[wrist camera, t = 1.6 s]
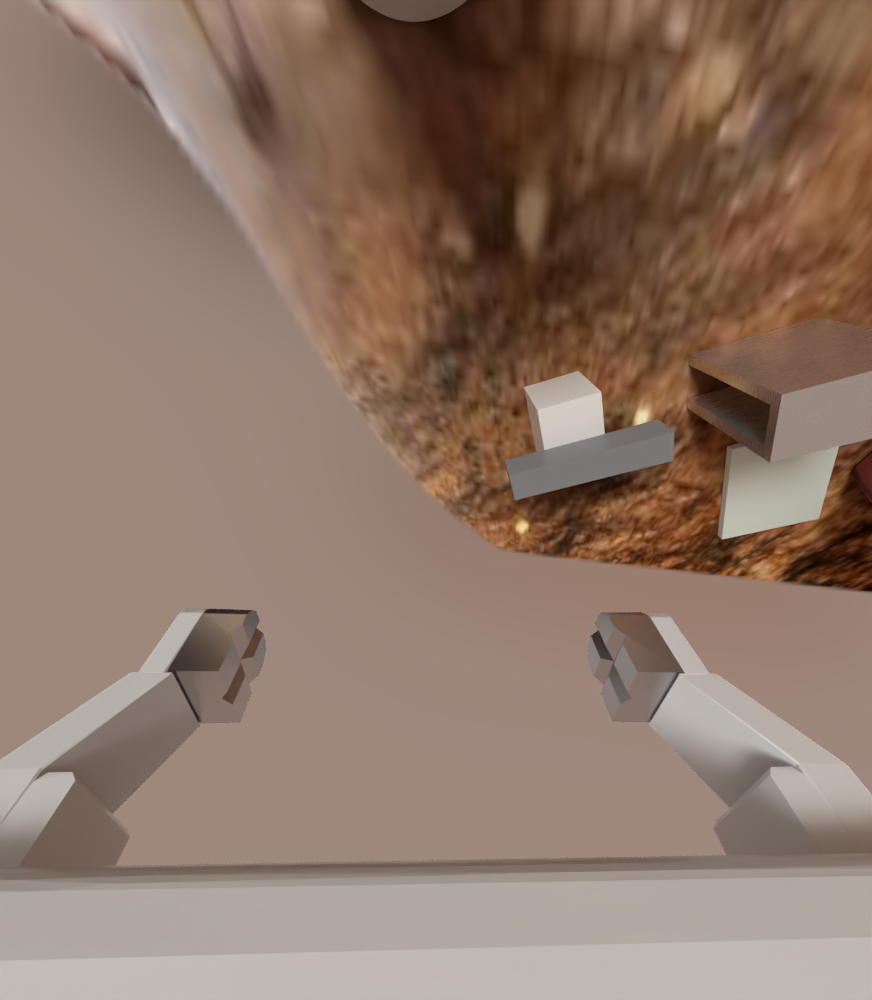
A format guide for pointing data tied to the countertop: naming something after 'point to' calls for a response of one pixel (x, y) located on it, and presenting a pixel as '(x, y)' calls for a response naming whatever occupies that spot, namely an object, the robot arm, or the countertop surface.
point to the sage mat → (772, 490)
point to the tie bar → (591, 459)
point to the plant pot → (864, 476)
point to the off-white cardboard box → (564, 411)
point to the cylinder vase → (414, 8)
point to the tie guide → (791, 388)
